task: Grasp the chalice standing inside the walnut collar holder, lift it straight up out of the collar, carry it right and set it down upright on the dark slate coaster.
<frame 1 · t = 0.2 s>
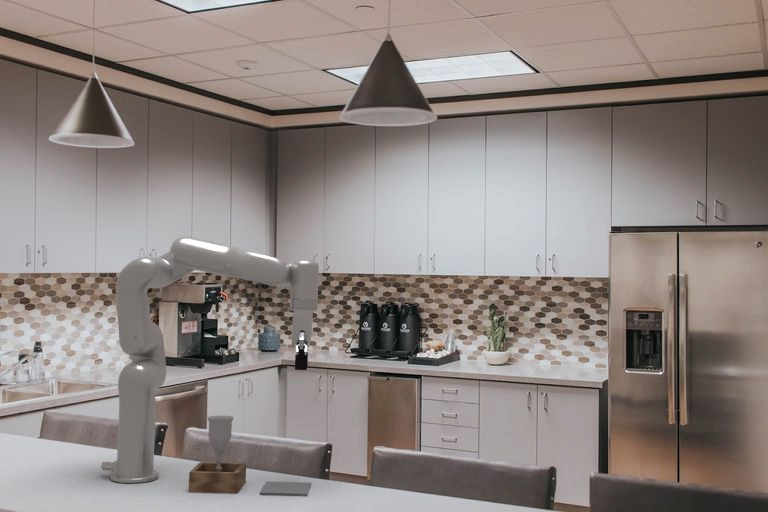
hand: (301, 368, 210), 31 cm above the table, fingers open, 9 cm apart
coaster: (286, 489, 201), on the table
chalice: (217, 487, 202), resting in holder
holder: (217, 486, 202), on the table
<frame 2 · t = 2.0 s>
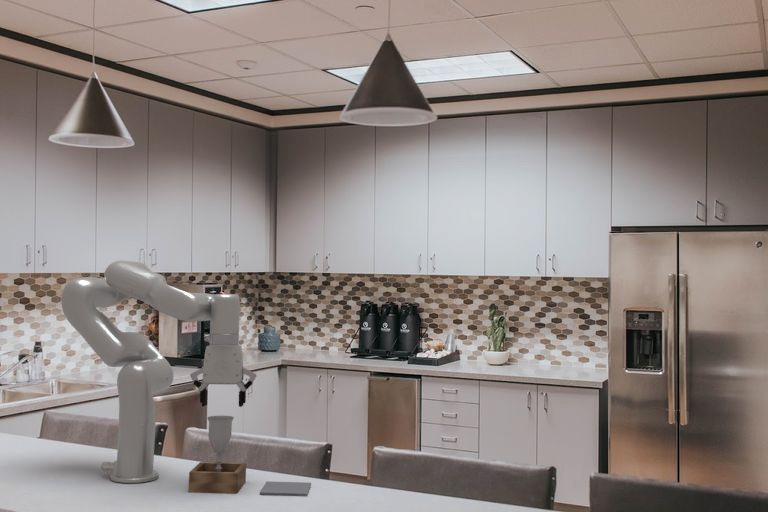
hand: (222, 405, 203), 21 cm above the table, fingers open, 9 cm apart
nothing on the table moved.
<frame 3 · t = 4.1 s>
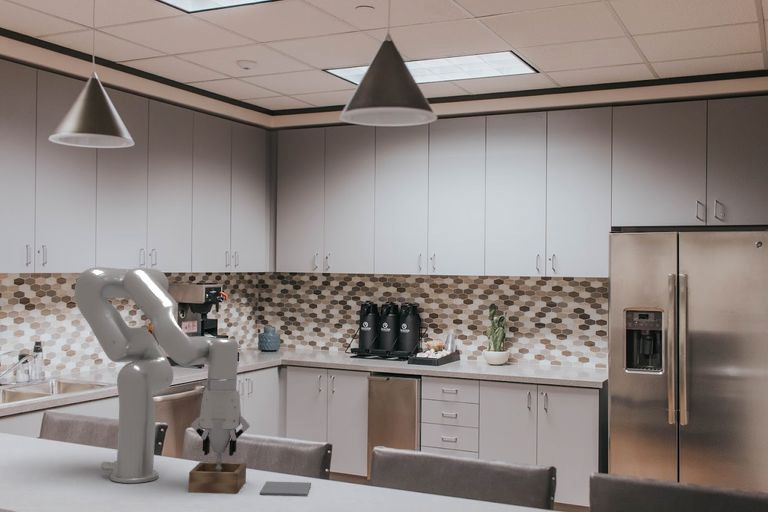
hand: (219, 453, 202), 9 cm above the table, fingers closed on chalice, 5 cm apart
chalice: (217, 487, 202), resting in holder, touching gripper
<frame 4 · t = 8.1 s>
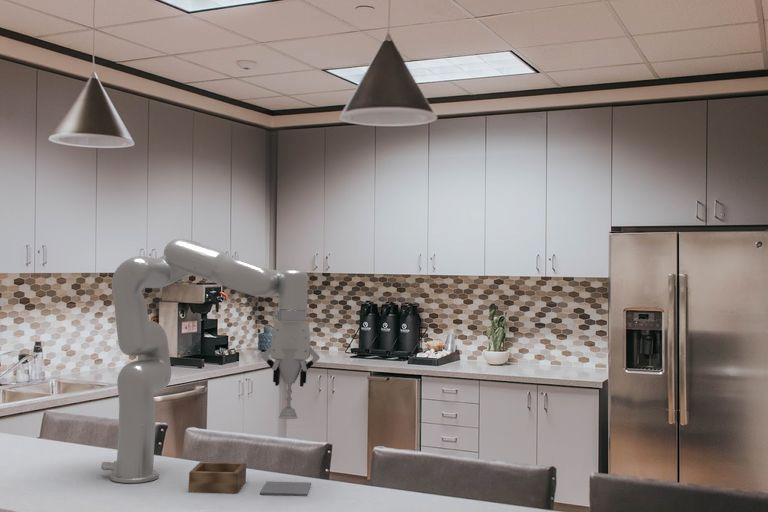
hand: (289, 385, 203), 27 cm above the table, fingers closed on chalice, 5 cm apart
chalice: (288, 418, 202), point 18 cm above the table, touching gripper
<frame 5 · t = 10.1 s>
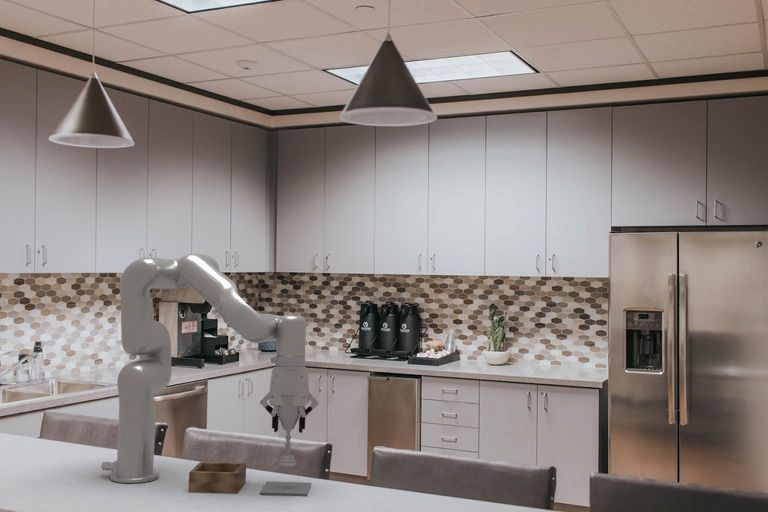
hand: (288, 431, 202), 15 cm above the table, fingers closed on chalice, 5 cm apart
chalice: (287, 464, 201), point 6 cm above the table, touching gripper
when the fingers open (10 cm above the table, at t = 12.0 s): chalice drops 1 cm, resting on coaster.
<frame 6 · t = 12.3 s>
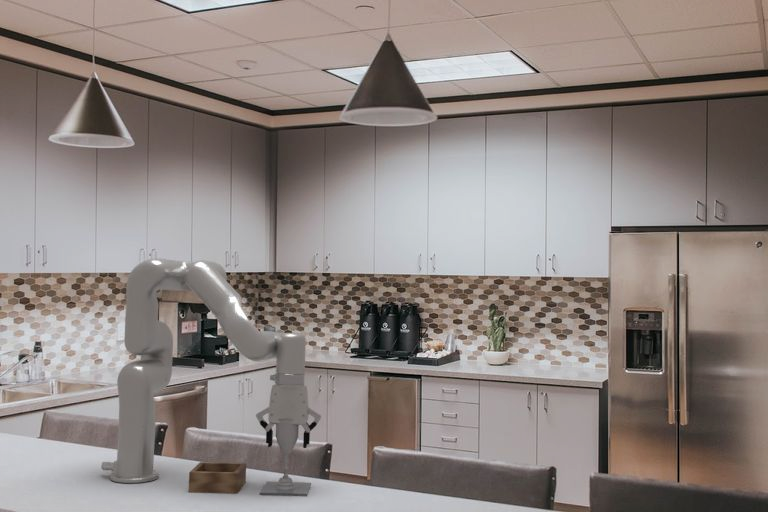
hand: (287, 446, 202), 11 cm above the table, fingers open, 8 cm apart
chalice: (285, 488, 201), resting on coaster
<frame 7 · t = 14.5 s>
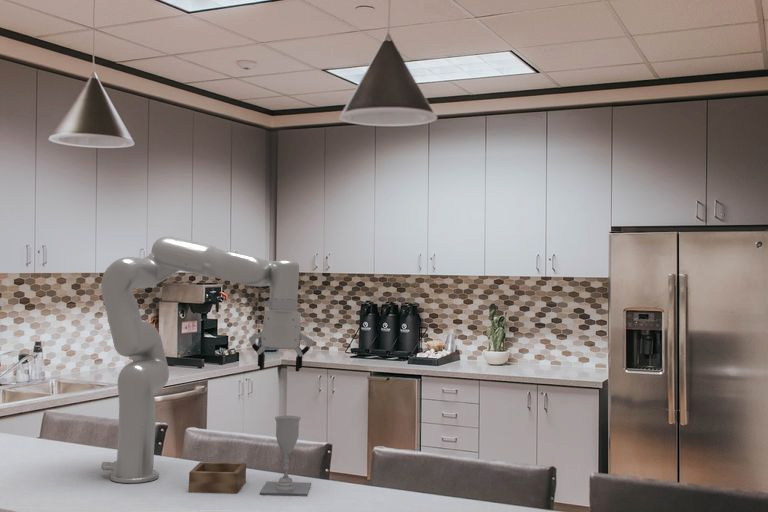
hand: (279, 370, 207), 31 cm above the table, fingers open, 9 cm apart
nothing on the table moved.
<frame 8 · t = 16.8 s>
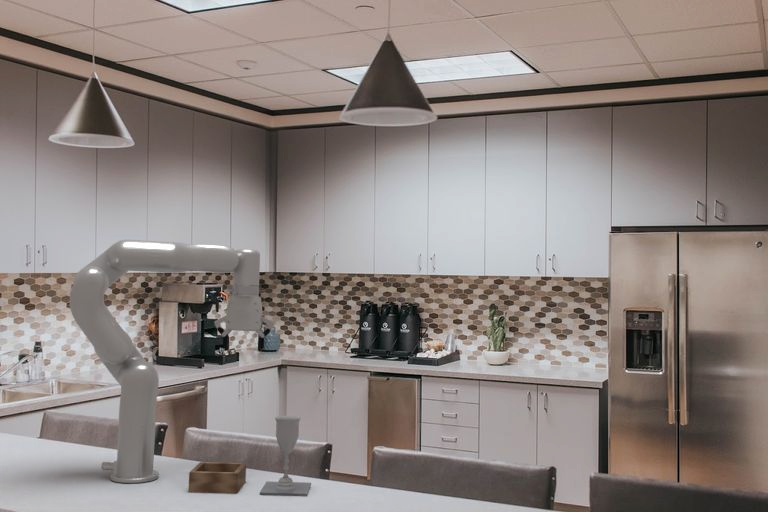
hand: (243, 350, 223), 34 cm above the table, fingers open, 9 cm apart
nothing on the table moved.
at the end: chalice inside the target area on the coaster (0.2 cm from its centre), point 0.4 cm above the coaster's base; chalice tilted 0°; the gripper is holding nothing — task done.
